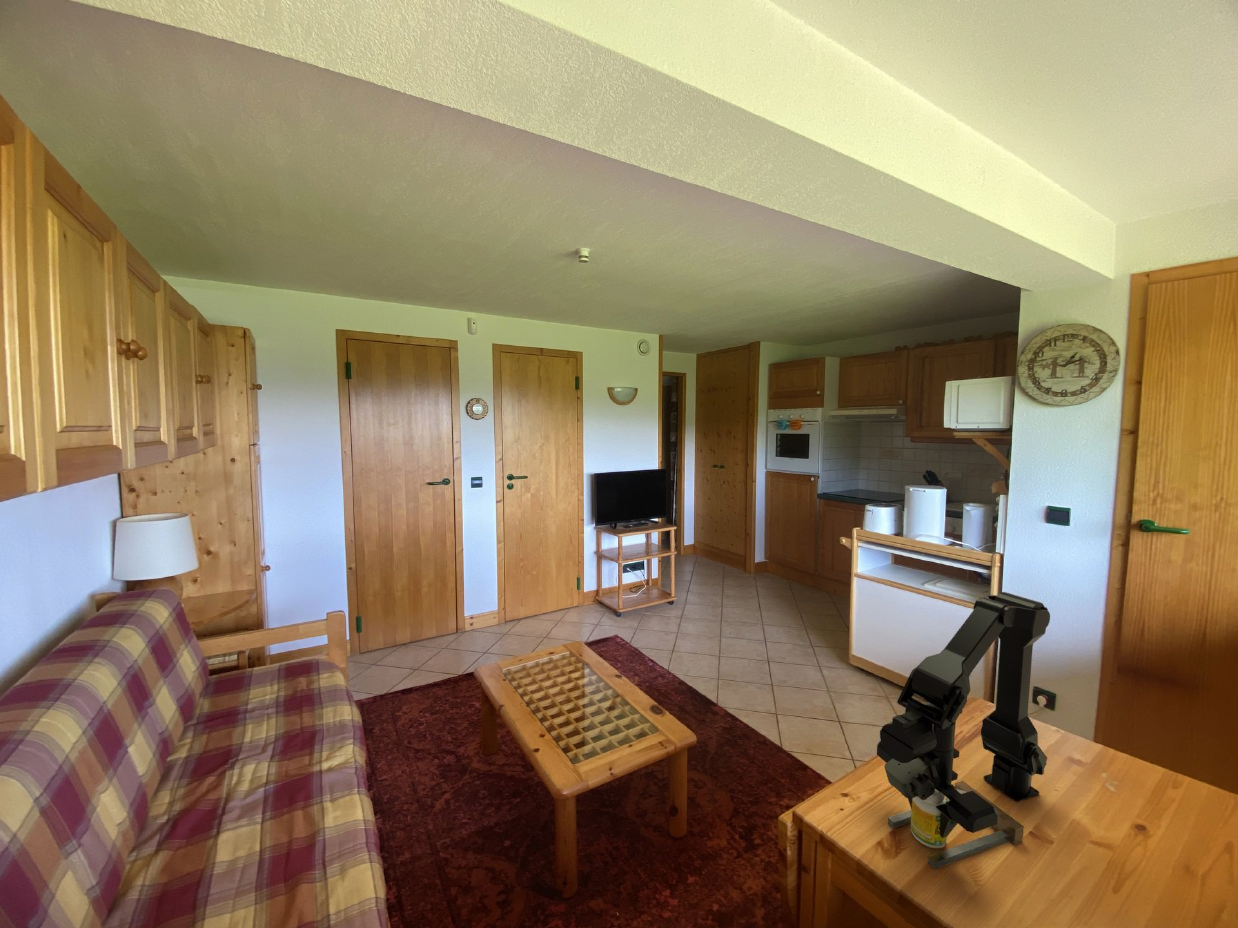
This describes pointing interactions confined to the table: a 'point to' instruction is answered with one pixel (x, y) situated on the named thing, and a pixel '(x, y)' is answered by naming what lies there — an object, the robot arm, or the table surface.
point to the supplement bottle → (927, 820)
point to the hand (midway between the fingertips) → (928, 822)
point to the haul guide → (1005, 833)
